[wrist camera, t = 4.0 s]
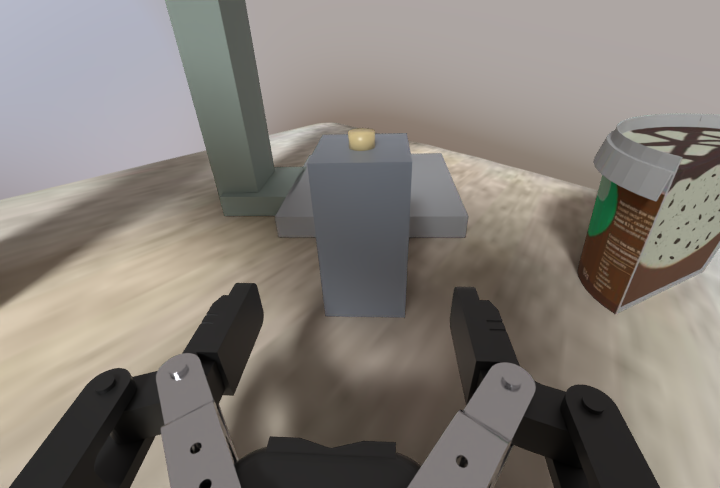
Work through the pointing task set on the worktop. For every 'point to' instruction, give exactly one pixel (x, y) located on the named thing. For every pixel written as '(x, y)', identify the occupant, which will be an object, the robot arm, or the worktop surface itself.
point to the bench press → (250, 134)
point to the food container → (653, 208)
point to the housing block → (362, 221)
